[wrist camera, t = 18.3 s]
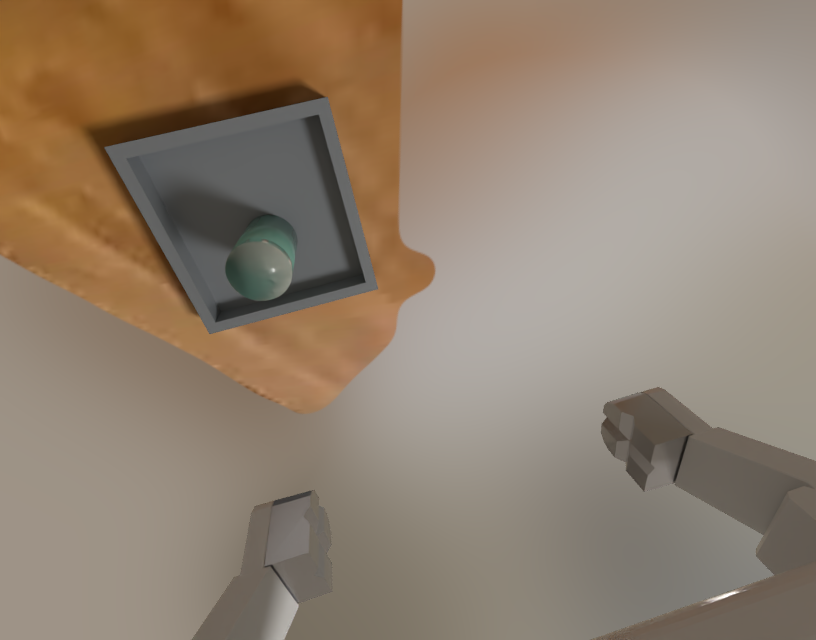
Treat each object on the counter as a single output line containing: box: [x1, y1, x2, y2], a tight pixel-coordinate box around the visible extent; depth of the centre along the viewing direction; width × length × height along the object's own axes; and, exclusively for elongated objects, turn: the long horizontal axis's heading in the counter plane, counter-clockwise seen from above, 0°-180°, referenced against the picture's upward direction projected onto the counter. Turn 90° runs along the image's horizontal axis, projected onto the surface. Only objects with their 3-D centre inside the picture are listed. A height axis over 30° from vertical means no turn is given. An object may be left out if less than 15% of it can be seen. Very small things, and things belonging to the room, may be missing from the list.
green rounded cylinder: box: [225, 215, 298, 301], centre depth 38 cm, size 6×6×10 cm
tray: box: [104, 97, 378, 334], centre depth 40 cm, size 20×20×4 cm
